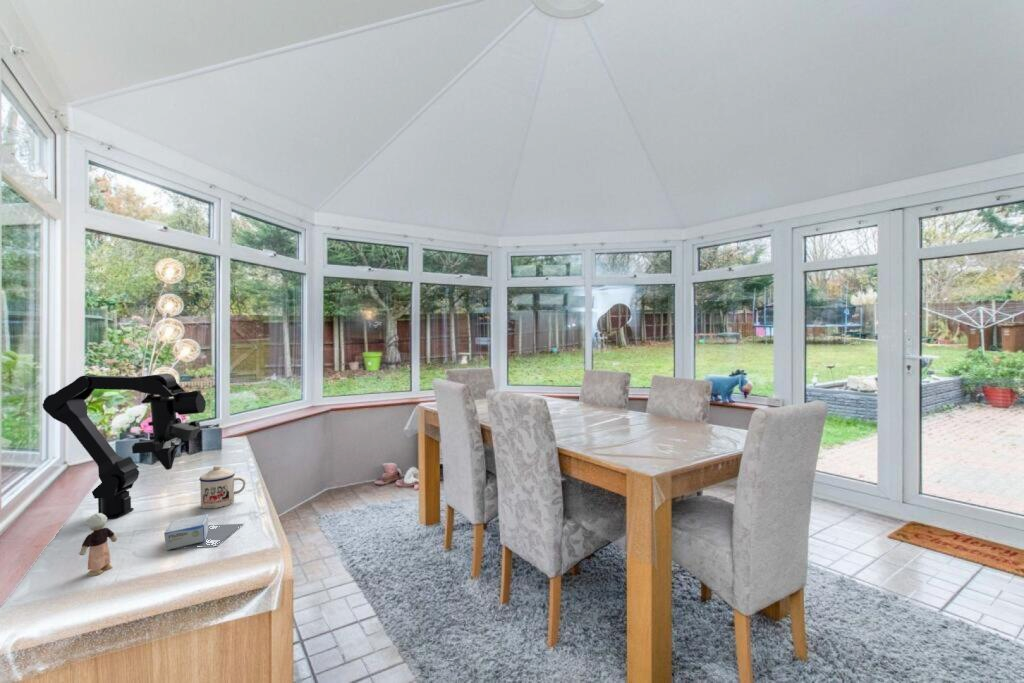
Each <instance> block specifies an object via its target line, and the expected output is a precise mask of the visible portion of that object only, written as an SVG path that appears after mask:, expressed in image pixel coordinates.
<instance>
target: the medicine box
mask: <svg viewBox="0 0 1024 683" xmlns="http://www.w3.org/2000/svg"><path fill="white" fill-rule="evenodd" d="M208 515H209V514H207V513H206V514H202V515H195V516H192V517H191V516H190V517H186V518H183V519H178V520H174V521H173V520H172V521H170V522H169V524H168V527H166V529H165V531H164V534H163V535H164V544H165V550H166V551H168V550H169V551H170V550H173V549H179V548H178V547H183V546H187V545H192V544H196V543H200V542H204V541H205V539H206V536H207V533H208V530H209V528H208V525H209V517H208Z"/></svg>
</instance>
